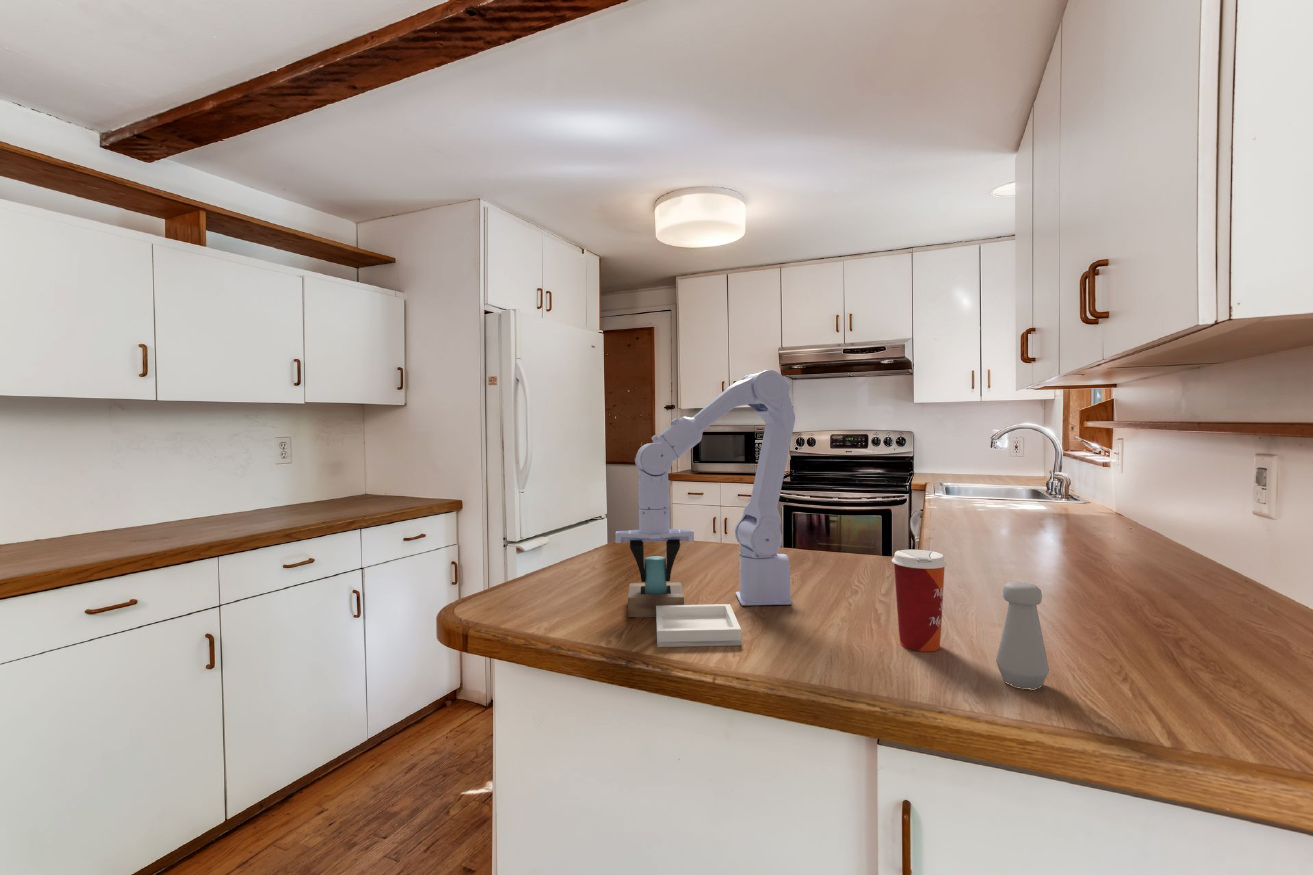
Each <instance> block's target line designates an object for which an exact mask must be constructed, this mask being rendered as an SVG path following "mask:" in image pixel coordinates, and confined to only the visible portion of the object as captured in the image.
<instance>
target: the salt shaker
mask: <svg viewBox="0 0 1313 875" xmlns="http://www.w3.org/2000/svg"><path fill="white" fill-rule="evenodd" d="M1002 597H1003V600H1004V601H1006V602H1007V603H1008V606H1007V611H1006V615H1005V619H1004V624H1003V627H1002V628H1003V629H1002V633H1001V635H1000V636H1001V637H1000V641H999V646H998V650H997V655H996V660H995V663H996V666H997V668H998V670H999V673H1000V675H1001V677H1002V679H1003V681H1004V683H1005V682H1007V683H1009V684H1012V685H1013V686H1016V687H1020V688H1031V689H1035V688H1039V687H1040V686H1042V687H1043V684H1044V683H1045V681H1046V679H1047V678H1048V675H1049V672H1050V667H1049V662H1048V657H1047V651H1046V646H1045V643H1044V642H1045V641H1044V637H1043V636H1044V635H1043V632H1042V627H1041V626H1042V625H1041V621H1040V617H1039V611H1038V607H1037V606H1038V605H1040V604H1041V603H1042V600H1043V594H1042V590H1041V589H1040V588H1039V586H1037V585H1036V584H1034V583H1031V582H1026V581H1009V582H1006V583H1005V584H1004V585H1003V586H1002ZM1039 689H1040V688H1039Z"/></svg>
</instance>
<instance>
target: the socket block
mask: <svg viewBox="0 0 1313 875" xmlns="http://www.w3.org/2000/svg"><path fill="white" fill-rule="evenodd" d="M628 587H629V588H628V597H627V618H629V617H636V618H656V606H664V605H685V595H684V591H683V585H682V582H677V581H676V582H674V581H673V582H666V588H667V594H645V582H633V583H632V582H631V583H629V586H628Z"/></svg>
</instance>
